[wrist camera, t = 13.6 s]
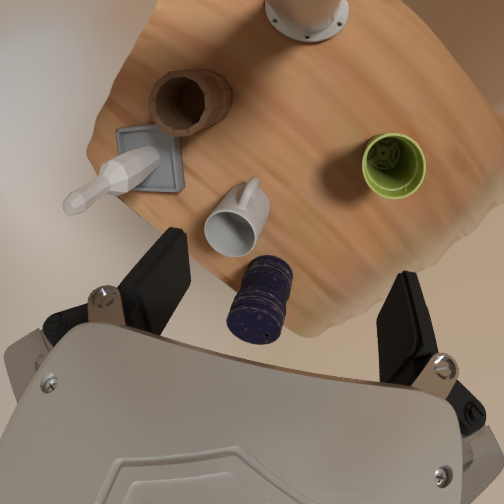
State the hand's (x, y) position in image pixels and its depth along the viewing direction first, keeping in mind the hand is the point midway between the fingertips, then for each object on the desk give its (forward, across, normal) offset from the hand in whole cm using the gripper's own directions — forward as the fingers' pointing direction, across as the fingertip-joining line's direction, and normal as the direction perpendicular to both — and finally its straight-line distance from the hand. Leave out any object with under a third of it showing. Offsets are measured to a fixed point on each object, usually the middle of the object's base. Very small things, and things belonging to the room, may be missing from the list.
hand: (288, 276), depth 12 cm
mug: (+36, +10, +14) cm, 40 cm away
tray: (+36, +30, +8) cm, 47 cm away
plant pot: (+36, -11, +1) cm, 38 cm away
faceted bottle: (+35, +30, +7) cm, 47 cm away
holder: (+36, +19, -4) cm, 41 cm away
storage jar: (+36, +5, +30) cm, 48 cm away
